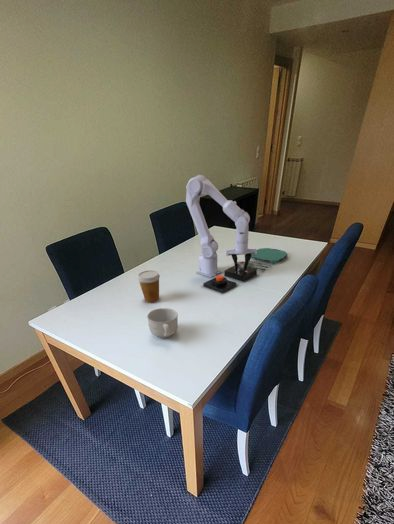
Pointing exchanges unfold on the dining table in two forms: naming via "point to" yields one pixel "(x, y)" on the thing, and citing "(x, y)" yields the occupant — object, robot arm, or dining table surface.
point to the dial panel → (240, 273)
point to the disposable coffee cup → (149, 285)
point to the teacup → (163, 322)
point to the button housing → (219, 285)
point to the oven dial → (241, 266)
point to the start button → (219, 278)
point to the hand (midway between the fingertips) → (240, 269)
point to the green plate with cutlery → (267, 257)
